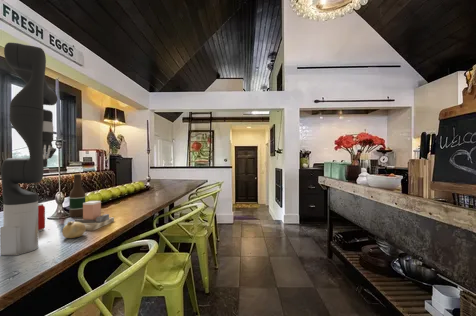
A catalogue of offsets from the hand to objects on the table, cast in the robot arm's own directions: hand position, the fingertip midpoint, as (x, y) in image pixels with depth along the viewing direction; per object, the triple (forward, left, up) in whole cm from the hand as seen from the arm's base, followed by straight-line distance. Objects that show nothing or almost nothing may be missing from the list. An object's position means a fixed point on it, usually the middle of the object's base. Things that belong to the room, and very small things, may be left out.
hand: (43, 167), depth 114 cm
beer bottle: (+22, 0, -29) cm, 37 cm away
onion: (-13, -26, -29) cm, 41 cm away
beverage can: (-6, -2, -29) cm, 30 cm away
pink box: (+5, -21, -27) cm, 34 cm away
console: (+4, -21, -29) cm, 36 cm away
